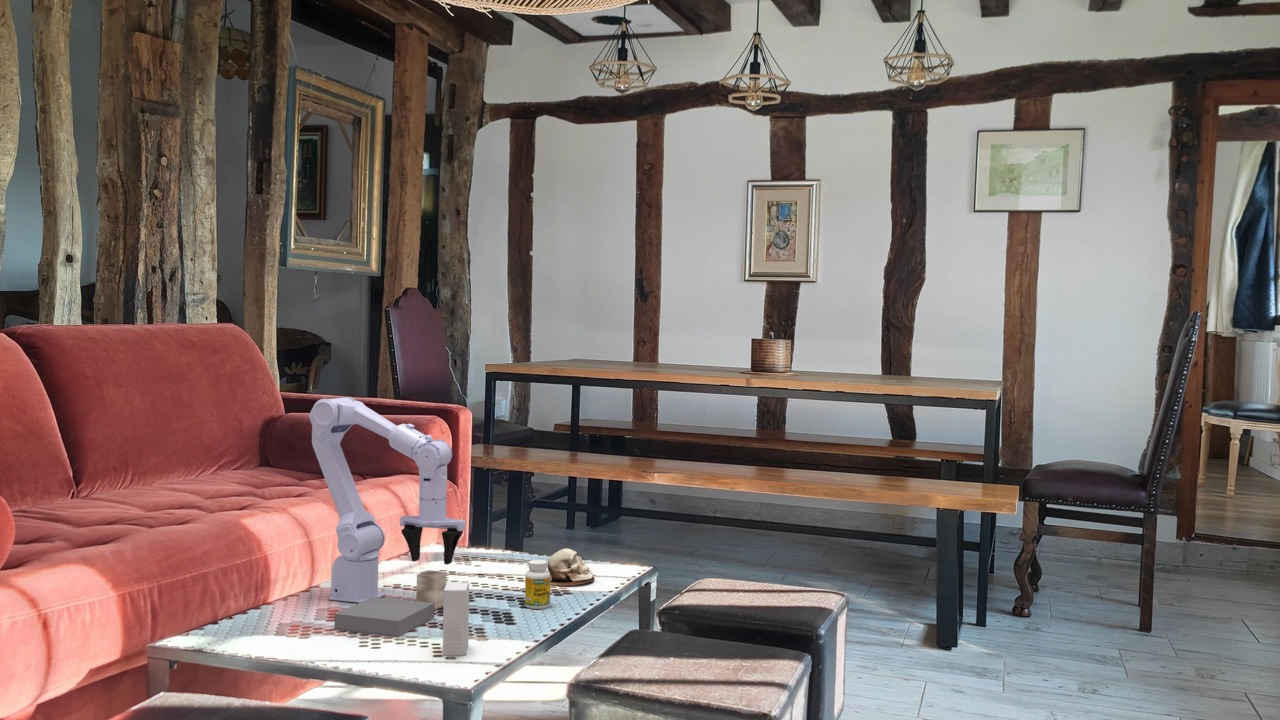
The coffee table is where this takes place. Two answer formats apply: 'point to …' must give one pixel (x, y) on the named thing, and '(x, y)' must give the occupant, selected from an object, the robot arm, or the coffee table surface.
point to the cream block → (431, 587)
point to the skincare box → (455, 618)
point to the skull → (568, 569)
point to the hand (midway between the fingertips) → (431, 562)
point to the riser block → (384, 616)
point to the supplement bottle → (537, 585)
